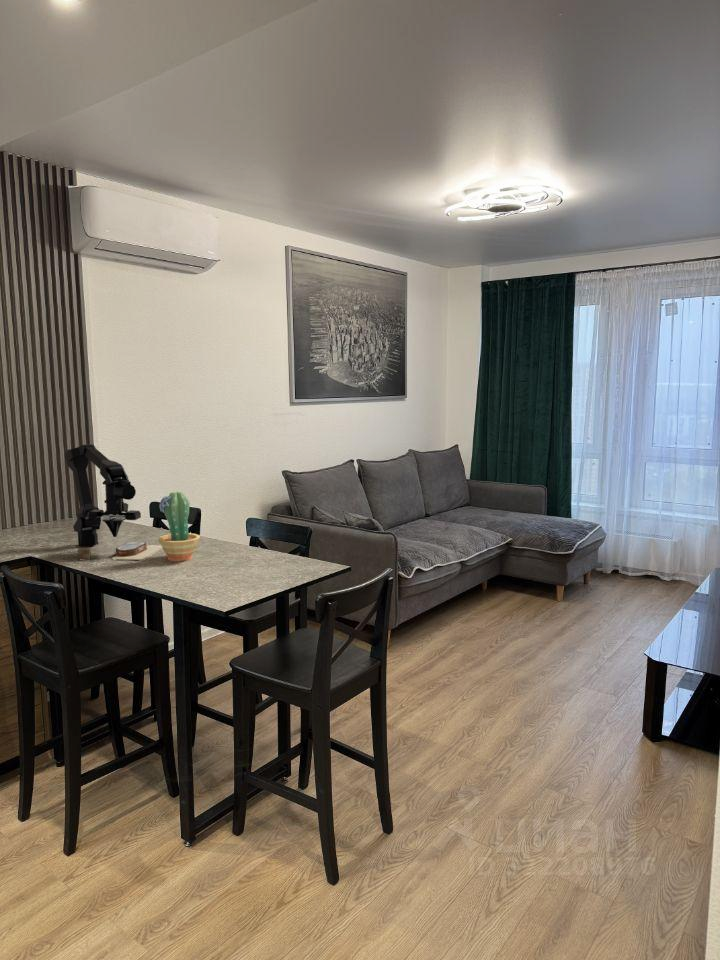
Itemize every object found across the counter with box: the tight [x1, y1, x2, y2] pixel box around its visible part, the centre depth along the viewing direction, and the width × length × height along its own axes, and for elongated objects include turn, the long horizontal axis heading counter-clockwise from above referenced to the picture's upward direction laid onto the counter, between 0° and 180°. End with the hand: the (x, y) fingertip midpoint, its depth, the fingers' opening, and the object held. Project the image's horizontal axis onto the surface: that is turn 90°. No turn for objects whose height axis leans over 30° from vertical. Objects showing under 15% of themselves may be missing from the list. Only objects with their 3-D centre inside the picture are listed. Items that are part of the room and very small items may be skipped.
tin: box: [115, 541, 148, 557], centre depth 254 cm, size 15×3×8 cm
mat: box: [111, 544, 163, 562], centre depth 254 cm, size 12×22×1 cm, turn 176°
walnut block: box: [77, 547, 92, 561], centre depth 245 cm, size 4×4×4 cm
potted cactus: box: [157, 491, 201, 562], centre depth 246 cm, size 15×15×25 cm
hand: (115, 536), depth 254 cm, fingers closed
